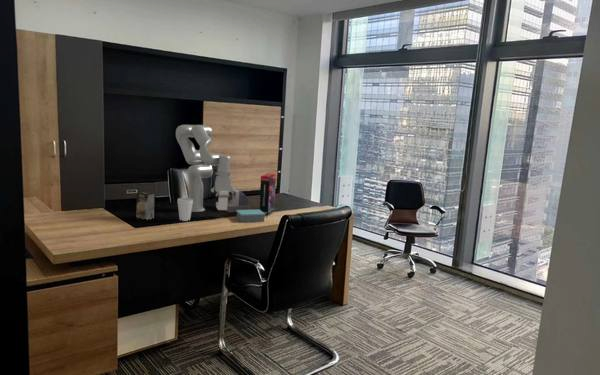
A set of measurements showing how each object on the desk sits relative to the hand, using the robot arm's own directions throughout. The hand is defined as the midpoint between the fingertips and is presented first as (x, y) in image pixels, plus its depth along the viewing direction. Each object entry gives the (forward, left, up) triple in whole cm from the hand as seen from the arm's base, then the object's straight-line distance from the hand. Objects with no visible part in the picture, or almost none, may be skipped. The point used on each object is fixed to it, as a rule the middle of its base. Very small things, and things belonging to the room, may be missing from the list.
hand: (221, 201), depth 284 cm
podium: (+17, -8, -11) cm, 22 cm away
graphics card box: (+34, +9, -11) cm, 37 cm away
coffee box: (-47, +4, -11) cm, 48 cm away
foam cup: (-24, -3, -11) cm, 26 cm away
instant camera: (+15, +26, -11) cm, 32 cm away
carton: (0, 0, -5) cm, 5 cm away
